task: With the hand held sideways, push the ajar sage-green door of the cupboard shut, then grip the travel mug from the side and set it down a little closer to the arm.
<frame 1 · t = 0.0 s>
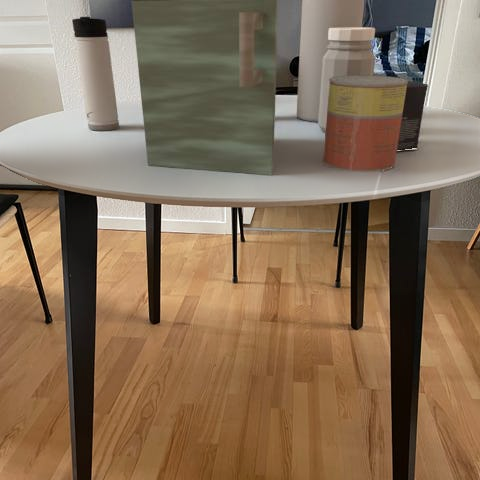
cupboard: (208, 150, 87), on the table
door: (198, 94, 68), point 11 cm above the table, hinge at 25.0°
jar: (341, 132, 101), on the table
travel mug: (104, 129, 104), on the table
canned food: (358, 164, 79), on the table
decorative mushroom: (189, 104, 133), on the table
small box: (384, 146, 90), on the table
cylinder vase: (323, 119, 113), on the table
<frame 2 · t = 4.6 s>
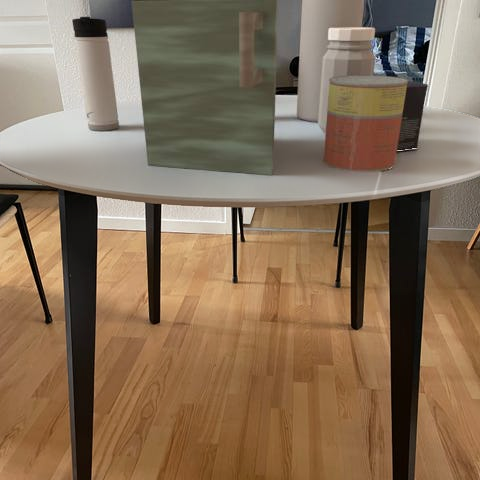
nothing on the table moved.
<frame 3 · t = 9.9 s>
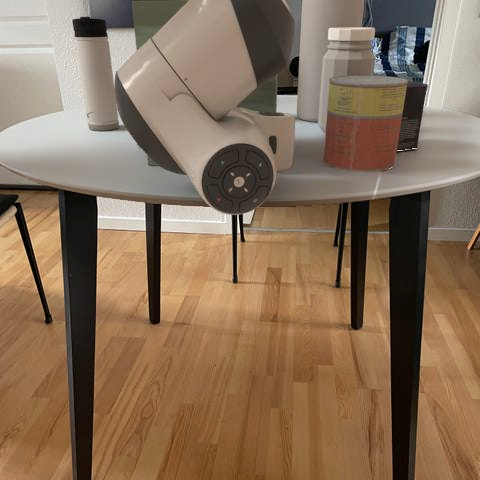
hand: (214, 123, 71), 7 cm above the table, tool horizontal, fingers closed
door: (201, 93, 68), point 11 cm above the table, hinge at 22.0°, touching gripper
everything else where it was.
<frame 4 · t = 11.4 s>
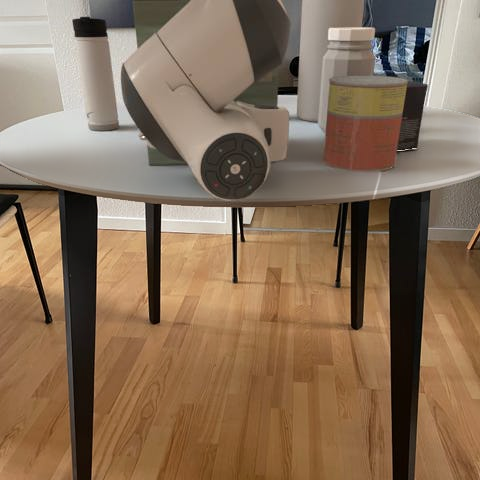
hand: (212, 118, 75), 7 cm above the table, tool horizontal, fingers closed
door: (210, 90, 71), point 11 cm above the table, hinge at 3.3°, touching gripper
everything else where it was.
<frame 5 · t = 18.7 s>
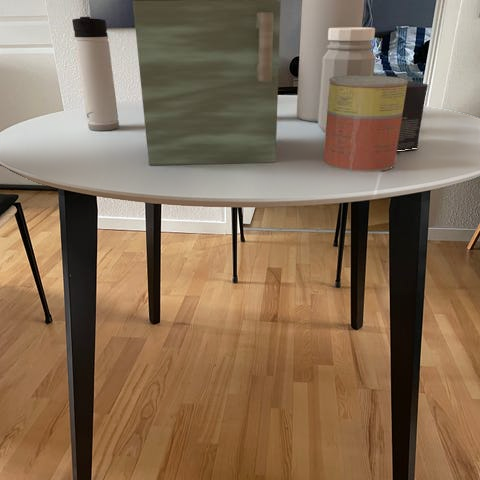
door: (210, 90, 71), point 11 cm above the table, hinge at 3.3°
everything else where it was.
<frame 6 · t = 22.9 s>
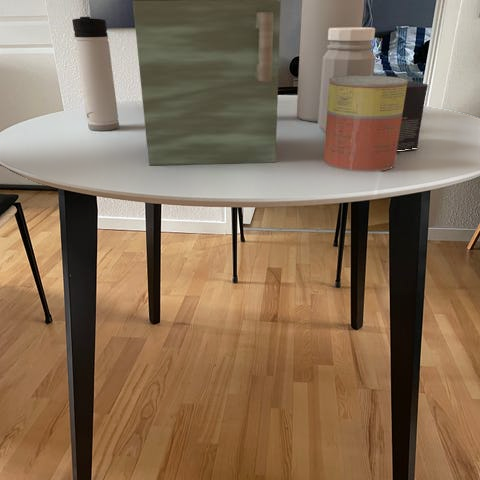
nothing on the table moved.
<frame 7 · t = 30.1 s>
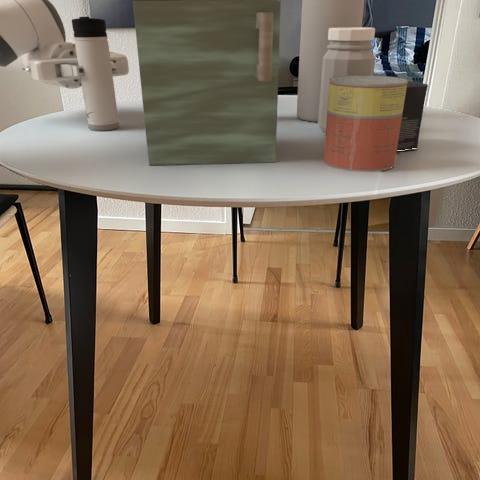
hand: (98, 70, 98), 11 cm above the table, tool horizontal, fingers closed on travel mug, 6 cm apart
travel mug: (104, 129, 104), on the table, touching gripper
everything else where it was.
when the fingers open (11 cm above the table, at t = 35.7 s): travel mug stays where it is, on the table.
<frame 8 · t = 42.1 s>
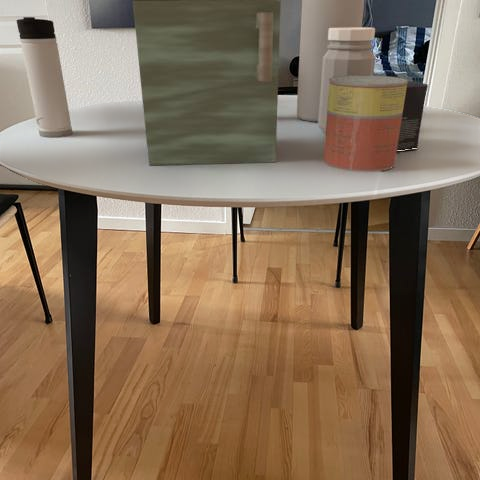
travel mug: (56, 135, 99), on the table
everything else where it was.
at the end: door at +3° (first picture: +25°); travel mug inside the target area (0.1 cm from its centre), on the table; travel mug tilted 0° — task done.
